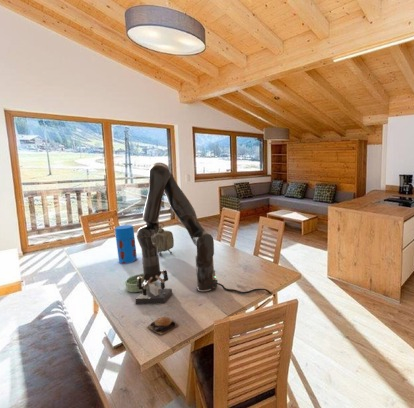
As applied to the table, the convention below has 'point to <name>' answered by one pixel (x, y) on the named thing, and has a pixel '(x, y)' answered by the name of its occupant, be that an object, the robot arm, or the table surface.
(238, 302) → the table surface
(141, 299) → the rotary switch dial
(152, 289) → the red tipped lever
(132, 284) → the basin
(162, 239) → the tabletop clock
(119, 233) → the thermos
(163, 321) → the open sandwich
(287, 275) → the table surface
